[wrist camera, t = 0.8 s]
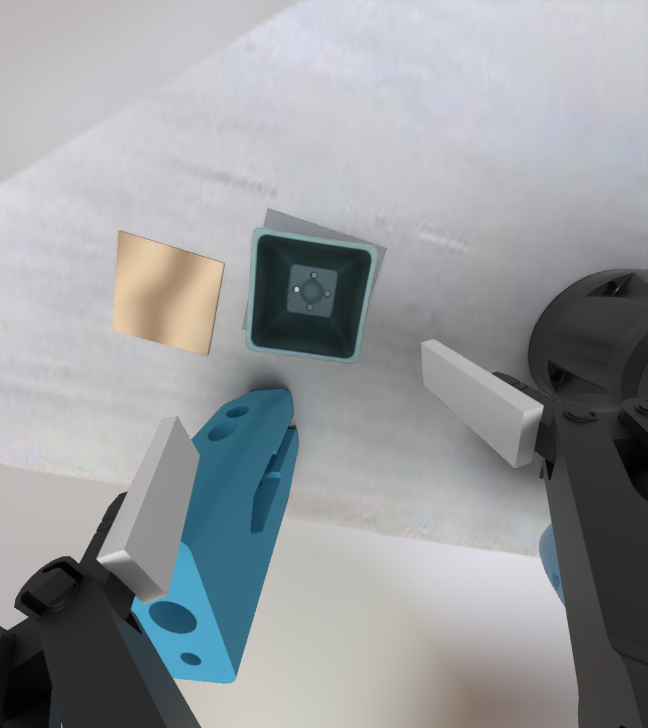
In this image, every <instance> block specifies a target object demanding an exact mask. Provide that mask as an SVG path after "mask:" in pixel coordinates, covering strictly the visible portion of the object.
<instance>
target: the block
mask: <svg viewBox="0 0 648 728" xmlns="http://www.w3.org/2000/svg"><path fill="white" fill-rule="evenodd" d="M292 416H293V407H292V401H291V395H290V393H289V392H288V391H287V390H285V389H268V390H254V391H252V392H250V393H247V394H245V395H243V396H241V397H239V398H237V399H235V400H233V401H230V402H228V403H226V404H224V405H223V406H222V407H221V408H220V409H219V410H218V411H217V412H216V414H215V415H214V416H213V417H212V418H211V419H210V420H209V421H208V422H207V423H206V424H205V425H204V426H203V427H202V429H201V430H200V431H199V432H198V433H197V434H196V435H195V436H194V437H193V438H192V439H191V441H192V442H193V444H194V446H195V448H196V449H197V451H198V453H199V455H200V458H199V462H198V467H197V471H196V475H195V480H194V484H193V488H192V493H191V497H190V501H189V506H188V510H187V514H186V519H185V523H184V527H183V532H182V536H181V541H180V545H179V549H178V554H177V558H176V562H175V567H174V571H173V575H172V580H171V584H170V588H169V593H168V596H166V597H163V598H161V599H158V600H155V601H152V602H150V603H147V604H143V603H142V602H141V601H140V600H139V599H138V598H137V597H136V596H135V598H134V601H133V605H132V608H131V610H132V611H133V612H134V613H135V614H136V615H137V617H138V619H139V621H140V622H141V624H142V626H143V628H144V629H145V631H146V633H147V635H148V636H149V638H150V640H151V642H152V643H153V645H154V647H155V648H156V650H157V652H158V654H159V655H160V657H161V659H162V661H163V662H164V664H165V666H166V668H167V669H168V671H169V673H170V674H171V676H172V678H177V679H185V680H195V681H204V682H214V683H223V684H227V683H232V682H234V680H235V679H236V676H237V672H238V669H239V666H240V662H241V659H242V655H243V652H244V649H245V645H246V642H247V638H248V635H249V631H250V628H251V624H252V621H253V618H254V614H255V611H256V608H257V604H258V601H259V597H260V594H261V590H262V587H263V583H264V580H265V576H266V573H267V570H268V567H269V563H270V560H271V556H272V553H273V549H274V546H275V543H276V539H277V536H278V532H279V529H280V526H281V522H282V519H283V515H284V512H285V508H286V505H287V502H288V497H289V492H290V487H291V482H292V477H293V471H294V466H295V461H296V456H297V451H298V439H297V432H296V429H287V428H288V426H289V423H290V421H291V419H292Z"/></svg>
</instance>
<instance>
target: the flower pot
mask: <svg viewBox="0 0 648 728" xmlns="http://www.w3.org/2000/svg"><path fill="white" fill-rule="evenodd" d="M377 257H378V251H377V248H376V247H375V246H373V245H369V244H363V243H355V242H347V241H340V240H333V239H327V238H321V237H314V236H307V235H301V234H295V233H289V232H284V231H277V230H273V229H267V228H256V229H255V230H254V231H253V233H252V241H251V262H250V263H251V264H250V281H249V298H248V314H247V329H246V346H247V348H248V349H250V350H252V351H256V352H265V353H274V354H282V355H291V356H298V357H306V358H312V359H319V360H327V361H334V362H341V363H348V364H349V363H355V362H357V360H358V357H359V352H360V346H361V339H362V334H363V328H364V322H365V317H366V312H367V307H368V302H369V296H370V291H371V286H372V281H373V276H374V272H375V267H376V263H377ZM312 273H316V274H317V276H316V277H315V278H313V277H312ZM295 287H298V288H299V291H298V292H295V291H294V288H295ZM327 291H328V292H330V296H328V297H327V296H325V292H327ZM308 305H312V310H308V308H307V307H308Z"/></svg>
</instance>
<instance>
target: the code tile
mask: <svg viewBox="0 0 648 728" xmlns="http://www.w3.org/2000/svg"><path fill="white" fill-rule="evenodd" d="M264 228H267V229H273V230H277V231H284V232H289V233H295V234H301V235H307V236H314V237H321V238H327V239H333V240H340V241H347V242H355V243H363V244H369V245H373V246H375V247H376V248H377V251H378V257H377V263H376V267H375V272H374V276H373V281H372V286H371V291H370V295H371V292H372V290H373V287H374V284H375V281H376V278H377V275H378V272H379V270H380V267H381V264H382V261H383V258H384V255H385V252H386V249H387V248H384V247H381V246H378V245H375V244H372V243H369V242H366V241H363V240H360V239H357V238H354V237H351V236H348V235H345V234H342V233H339V232H336V231H333V230H330V229H327V228H324V227H321V226H319V225H316V224H313V223H310V222H307V221H304V220H301V219H298V218H295V217H292V216H289V215H286V214H283V213H280V212H277V211H274V210H271V209H267V214H266V218H265V223H264ZM316 276H317V274H316V273H312V277H313V278H315V277H316ZM294 291H295V292H298V291H299V288H298V287H295V288H294ZM325 296H327V297H328V296H330V292H328V291H327V292H325ZM369 298H370V296H369ZM307 308H308V310H312V305H308V307H307ZM247 314H248V303H247V307H246V312H245V317H244V322H243V326H242V329H244V330H246V329H247Z"/></svg>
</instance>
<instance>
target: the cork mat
mask: <svg viewBox="0 0 648 728" xmlns="http://www.w3.org/2000/svg"><path fill="white" fill-rule="evenodd" d="M224 265H225V263H222V262H219V261H216V260H212V259H209V258H206V257H203V256H199V255H196V254H193V253H190V252H187V251H183V250H180V249H177V248H174V247H170V246H167V245H164V244H161V243H157V242H154V241H151V240H148V239H145V238H141V237H138V236H135V235H132V234H128V233H125V232H122V231H119V232H118V248H117V264H116V280H115V296H114V312H113V328H112V330H114V331H117V332H121V333H125V334H129V335H132V336H136V337H140V338H143V339H147V340H151V341H154V342H158V343H162V344H165V345H169V346H173V347H177V348H180V349H184V350H188V351H191V352H195V353H199V354H202V355H206V356H208V354H209V348H210V343H211V337H212V332H213V326H214V321H215V315H216V309H217V304H218V298H219V293H220V287H221V282H222V276H223V270H224Z"/></svg>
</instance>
